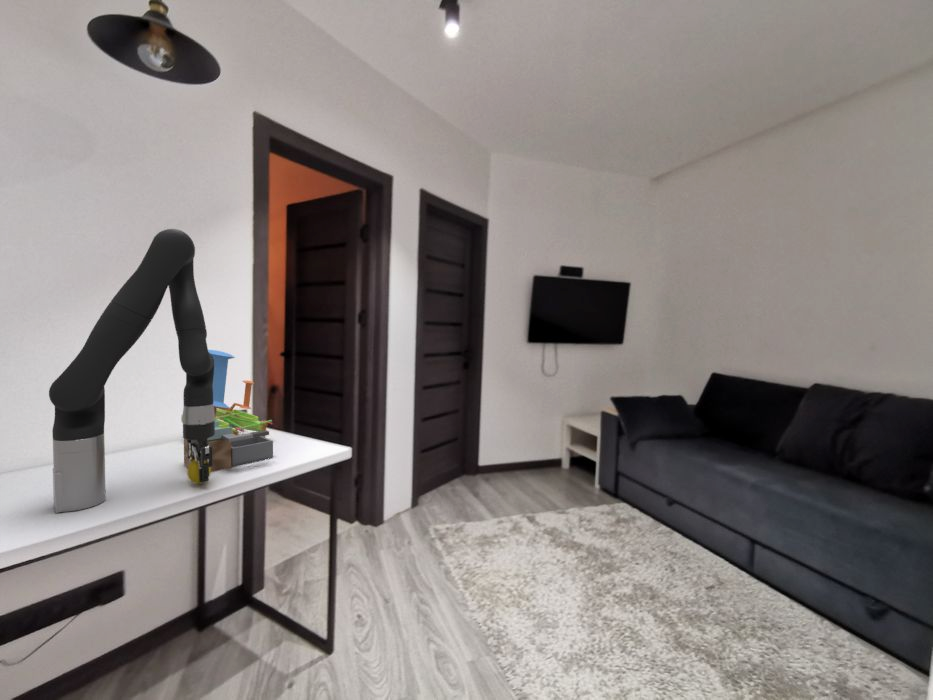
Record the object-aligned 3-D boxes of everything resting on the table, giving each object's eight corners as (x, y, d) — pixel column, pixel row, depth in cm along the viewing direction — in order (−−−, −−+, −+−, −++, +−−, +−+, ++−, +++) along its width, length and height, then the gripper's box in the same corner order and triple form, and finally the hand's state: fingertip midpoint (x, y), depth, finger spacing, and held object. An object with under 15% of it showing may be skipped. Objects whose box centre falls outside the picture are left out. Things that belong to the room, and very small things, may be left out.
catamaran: (216, 429, 171) (225, 348, 167) (273, 449, 160) (284, 363, 157) (173, 439, 154) (182, 350, 151) (234, 462, 144) (245, 367, 140)
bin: (232, 466, 130) (232, 448, 129) (218, 457, 138) (218, 440, 138) (273, 458, 139) (273, 440, 139) (257, 450, 148) (257, 433, 147)
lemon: (184, 488, 111) (184, 460, 111) (192, 481, 117) (191, 454, 116) (207, 487, 113) (206, 459, 113) (213, 480, 118) (213, 453, 118)
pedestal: (196, 475, 122) (195, 443, 121) (184, 465, 130) (183, 435, 130) (231, 467, 129) (231, 437, 129) (217, 458, 137) (217, 430, 137)
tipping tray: (202, 446, 117) (202, 436, 117) (183, 434, 130) (183, 425, 129) (269, 434, 132) (269, 425, 131) (246, 425, 144) (246, 416, 144)
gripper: (175, 418, 116) (177, 475, 117) (191, 427, 107) (192, 488, 107) (205, 414, 122) (206, 468, 122) (222, 422, 112) (223, 480, 113)
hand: (199, 477), depth 115 cm, fingers open, 7 cm apart
